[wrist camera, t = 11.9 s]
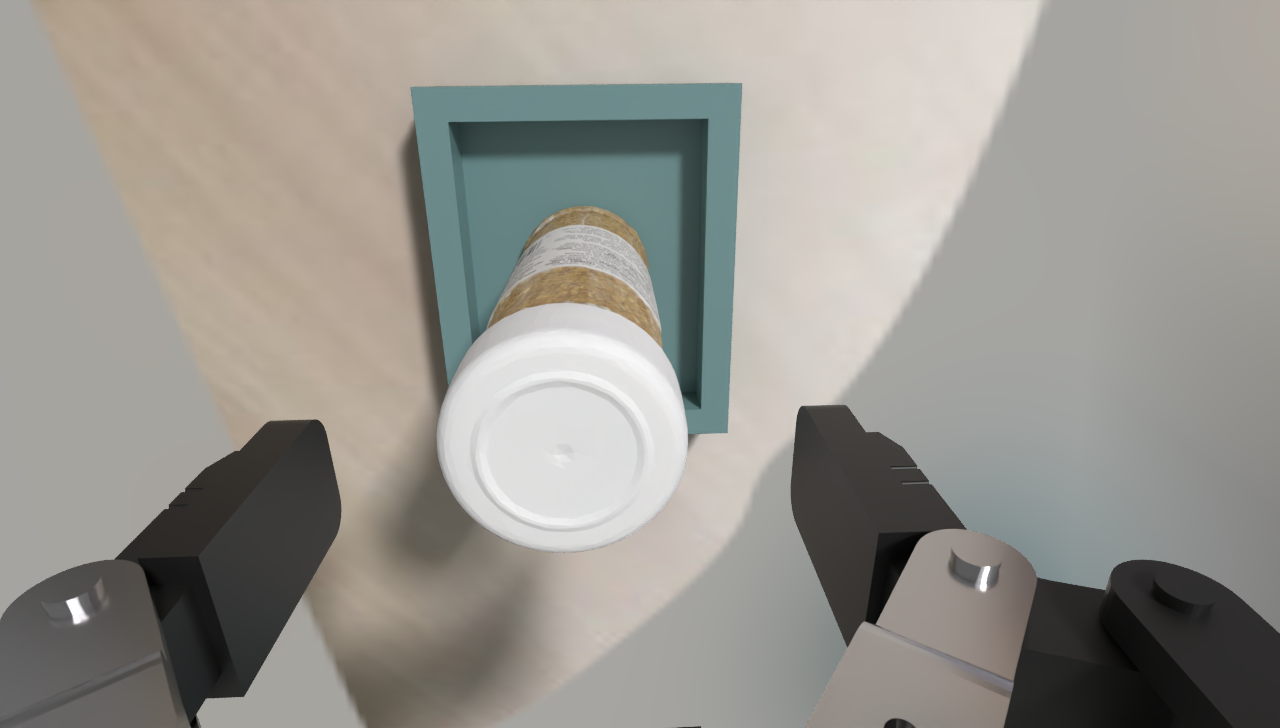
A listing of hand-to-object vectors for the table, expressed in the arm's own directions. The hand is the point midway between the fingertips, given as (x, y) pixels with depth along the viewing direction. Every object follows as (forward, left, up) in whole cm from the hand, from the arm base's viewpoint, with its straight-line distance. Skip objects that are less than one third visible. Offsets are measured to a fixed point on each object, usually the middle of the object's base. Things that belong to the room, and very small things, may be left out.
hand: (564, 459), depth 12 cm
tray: (0, 0, -15) cm, 15 cm away
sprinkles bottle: (0, 0, -14) cm, 14 cm away
